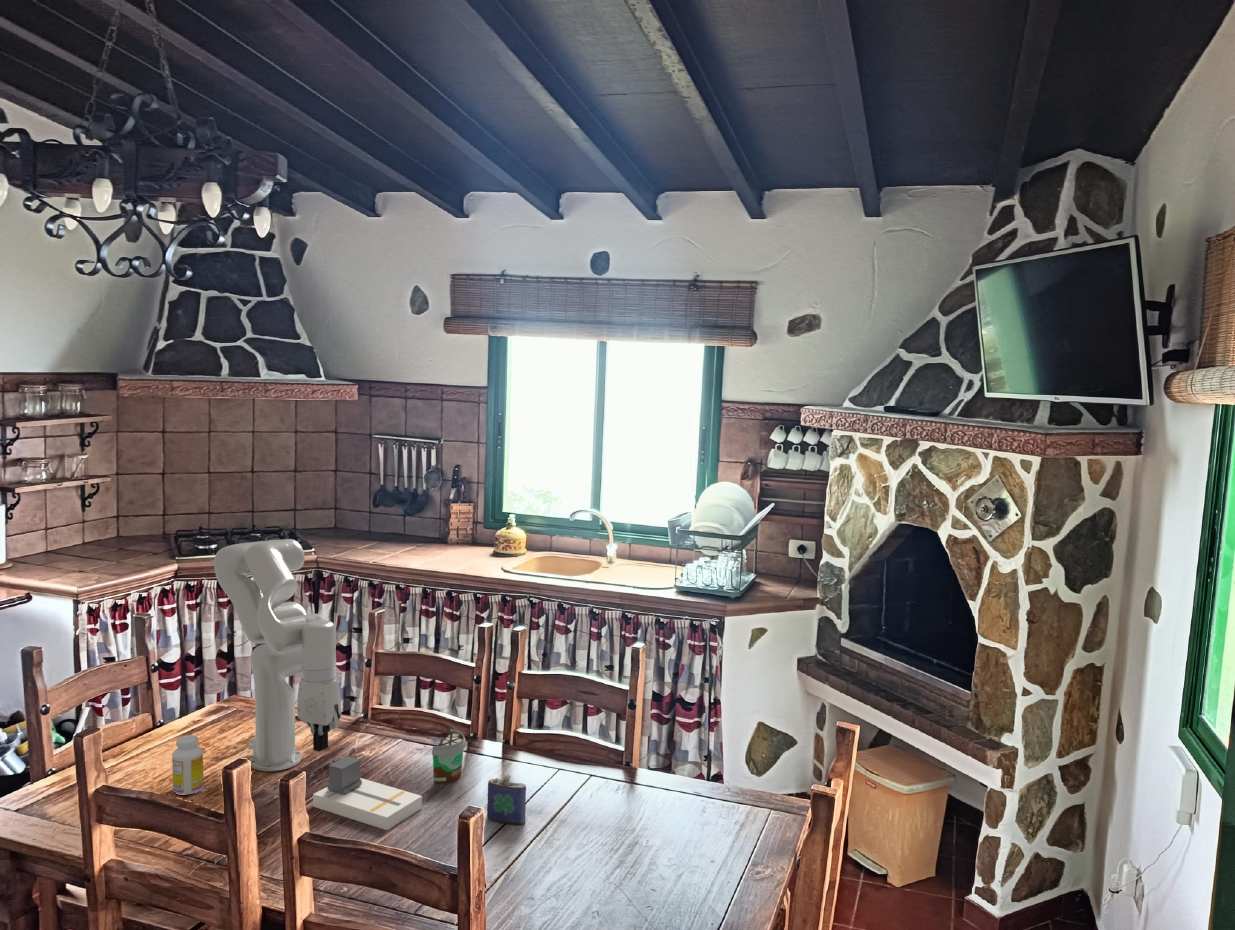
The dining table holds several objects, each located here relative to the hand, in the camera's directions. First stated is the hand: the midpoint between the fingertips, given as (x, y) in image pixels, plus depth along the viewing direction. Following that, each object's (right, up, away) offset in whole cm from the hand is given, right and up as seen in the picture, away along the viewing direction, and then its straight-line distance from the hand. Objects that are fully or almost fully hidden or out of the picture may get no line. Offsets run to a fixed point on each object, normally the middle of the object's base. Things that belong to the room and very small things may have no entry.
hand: (320, 749), depth 222 cm
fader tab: (+6, -9, -2) cm, 11 cm away
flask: (+45, -14, -9) cm, 48 cm away
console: (+12, -12, -5) cm, 18 cm away
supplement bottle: (-32, -10, +1) cm, 33 cm away
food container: (+29, -11, +12) cm, 33 cm away
